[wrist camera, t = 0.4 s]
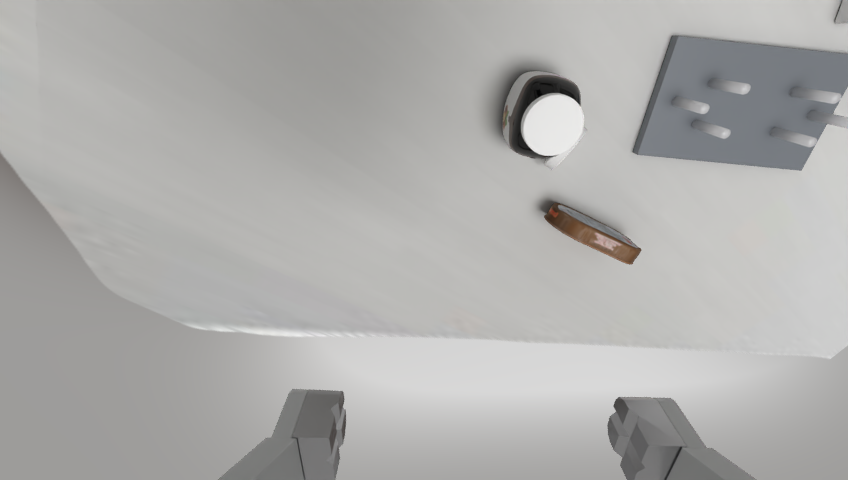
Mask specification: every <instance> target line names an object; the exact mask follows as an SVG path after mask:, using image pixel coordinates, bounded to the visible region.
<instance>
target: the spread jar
mask: <svg viewBox="0 0 848 480" xmlns="http://www.w3.org/2000/svg"><path fill="white" fill-rule="evenodd" d="M502 127H503V136H504V139H505V141H506V143H507V144H508V146H509V147H510V148H511V149H512V150H513V151H515V152H516V153H518V154H520V155H523V156H527V157H530V158H539V159H546V158H547V159H546V161H545V162H544V165H546V166H547V167H548V168H549V169H551V170H552V169H554V168H555V167H556V166H557V165H558V164H559V163H560V162H561V161H562V160H563V159H564V158H565V157H566V156H567V155H568V154H569V153H570V152H571V151H572V149H573V148H574V147H575V146H576V145H577V143H578V142H579V141H580V140H581V138H582V137H583V136H584V134H585V133H586V131H587V129H586V128H585V127H584V114H583V111H582V108H581V95H580V91H579V89H578V87H577V85H576V84H575V83H574V82H572V81H571V80H569V79H567V78H565V77H562V76H560V75H556V74H553V73H549V72H542V71H532V72H526V73H524V74H522V75H521V76H520V77H519V78H518V79H517V80H516V81H515V83H514V84H513V86H512V88H511V90H510V92H509V94H508V97H507V99H506V102H505V106H504V112H503V124H502Z"/></svg>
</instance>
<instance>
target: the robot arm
mask: <svg viewBox="0 0 848 480" xmlns="http://www.w3.org/2000/svg"><path fill="white" fill-rule="evenodd" d="M343 404H344V394H343V391H328V390H327V391H326V390H304V389H292V390H291V392H290V393H289V394H288V397H287V399H286V402H285V405H284V407H283V410H282V412H281V415H280V417H279V420H278V422H277V425H276V428H275V430H274V433H273V435H272V437H271V438H266V439H264V440H263V441H262V442H261V443H260V444H259V445H257V446H256V447H255V448H254V449H253V450H252V451H251V452H249V453H248V454H247V455H246V456H245V457H244V458H243V459H241V460H240V461H239V462H238V463H237V464H235V465H234V466H233V467H232V468H231V469H230V470H229V471H227V472H226V473H225V474H224V475H223V476H222V477H220V478H219V479H218V480H335V478H336V474H337V469H338V465H339V459H340V456H339V447H340V446H341V445H342V444H343V440H344V436H345V427H346V411H345V409H344V408H343ZM614 408H615V410H616V412H615V413H614V414H613V415H611V416H610V418H609V422H608V435H609V439H610V443H611V445H612V447H613V449H614V451H615V452H617V453H618V454H619V455H620V456H621V457H622V461H621V468H622V470H623V472H624V474H625V476H626V479H627V480H756V479H755V478H753V477H752V476H751V475H749V474H748V473H746V472H745V471H744V470H742V469H741V468H739V467H738V466H737V465H735V464H734V463H732V462H731V461H729V460H728V459H727V458H725V457H724V456H722V455H721V454H720V453H718V452H717V451H715V450H714V449H712V448H707V447H706V446H705V445H704V443H703V442H702V440H701V439H700V437H699V436H698V434H697V433H696V431H695V430H694V428H693V427H692V426H691V424H690V423H689V421H688V420H687V418H686V417H685V415H684V414H683V412H682V411H681V409H680V408H679V406H678V405H677V403H676V402H675V401H674V400H672V399H671V398H651V397H618V398H617V399H616V401H615V403H614Z"/></svg>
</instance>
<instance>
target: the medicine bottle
mask: <svg viewBox="0 0 848 480" xmlns="http://www.w3.org/2000/svg"><path fill="white" fill-rule="evenodd" d="M835 22H836V23H848V0H843V1H842V4H841V7H840V9H839V12H838V15H837V18H836V21H835Z"/></svg>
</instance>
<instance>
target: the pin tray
mask: <svg viewBox="0 0 848 480" xmlns="http://www.w3.org/2000/svg"><path fill="white" fill-rule="evenodd" d="M847 87H848V54H841V53H832V52H823V51H813V50H804V49H795V48H785V47H776V46H767V45H757V44H748V43H739V42H729V41H720V40H711V39H701V38H692V37H682V36H672V38H671V41H670V44H669V47H668V50H667V53H666V56H665V58H664V61H663V64H662V67H661V70H660V73H659V76H658V79H657V82H656V85H655V88H654V91H653V94H652V97H651V100H650V103H649V106H648V108H647V111H646V114H645V117H644V120H643V123H642V126H641V129H640V132H639V135H638V138H637V141H636V144H635V147H634V150H633V152H634V153H635V154H637V155H646V156H656V157H666V158H677V159H687V160H697V161H708V162H718V163H728V164H739V165H749V166H759V167H770V168H780V169H790V170H802V168H803V167H804V165H805V163H806V161H807V159H808V158H809V156H810V154H811V152H812V150H813V148H814V147H815V145H816V143H817V141H818V139H819V138H820V136H821V134H822V132H823V130H824V128H825V127H826V125H827V124H830V125H835V126H839V127H844V128H848V117H844V116H839V115H834V114H833V112H834V110H835V108H836V107H837V105H838V103H839V101H840V99H841V98H842V96H843V94H844V92H845V90H846V89H847Z"/></svg>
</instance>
